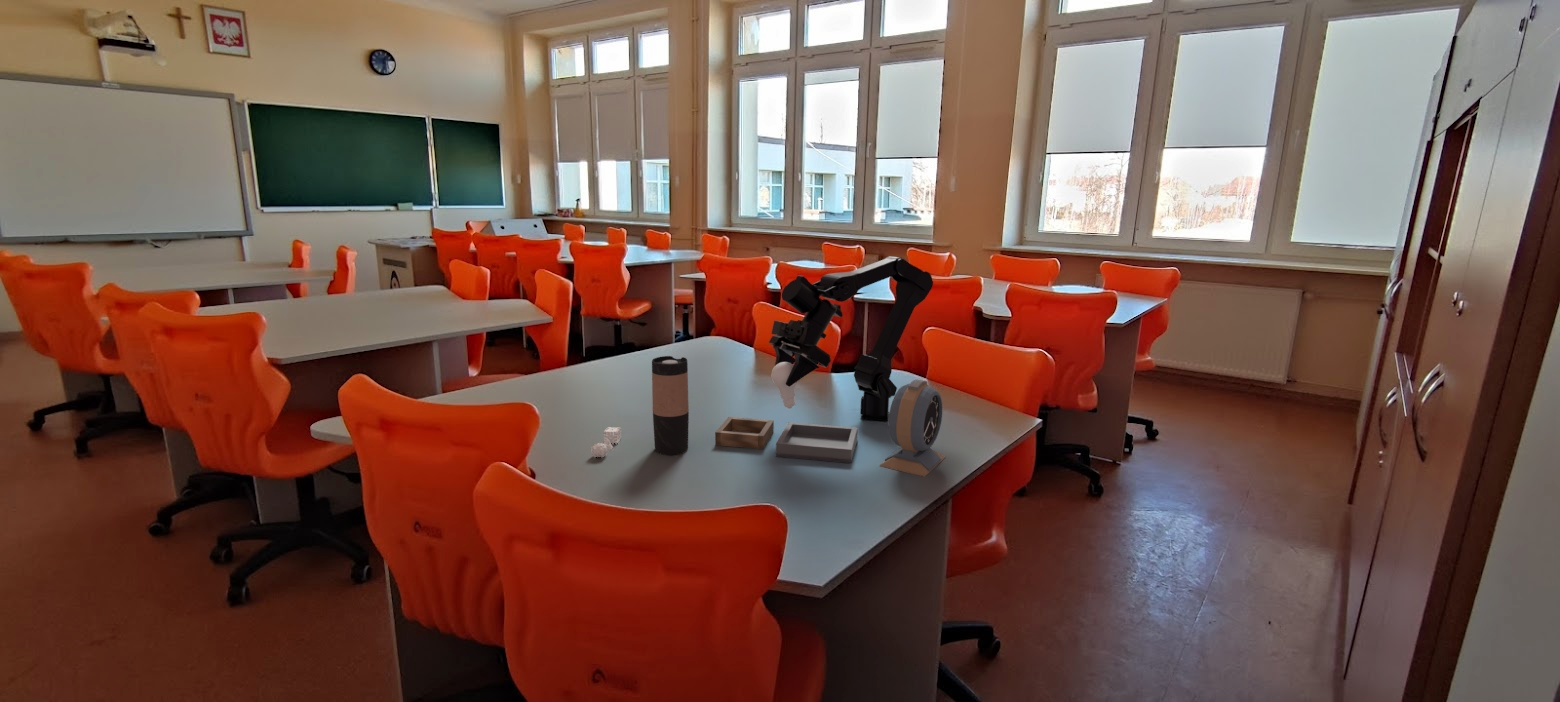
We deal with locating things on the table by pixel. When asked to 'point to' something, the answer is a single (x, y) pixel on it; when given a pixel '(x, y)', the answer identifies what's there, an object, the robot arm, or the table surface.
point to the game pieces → (607, 441)
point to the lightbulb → (784, 383)
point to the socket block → (745, 440)
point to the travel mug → (670, 404)
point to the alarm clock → (915, 428)
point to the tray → (817, 442)
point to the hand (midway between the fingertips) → (780, 382)
